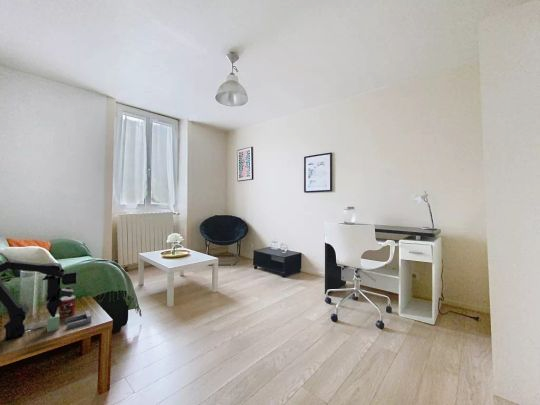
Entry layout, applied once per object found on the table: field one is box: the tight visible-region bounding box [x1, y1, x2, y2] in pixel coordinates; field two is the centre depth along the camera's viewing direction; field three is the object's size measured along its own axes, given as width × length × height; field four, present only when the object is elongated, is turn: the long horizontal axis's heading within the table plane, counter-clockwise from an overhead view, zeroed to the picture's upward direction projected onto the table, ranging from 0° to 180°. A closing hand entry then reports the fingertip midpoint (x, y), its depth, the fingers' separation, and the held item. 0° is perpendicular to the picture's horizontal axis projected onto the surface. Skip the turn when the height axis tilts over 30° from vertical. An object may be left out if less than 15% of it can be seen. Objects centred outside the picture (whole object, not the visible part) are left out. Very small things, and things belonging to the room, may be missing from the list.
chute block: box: [46, 312, 61, 332], centre depth 133 cm, size 5×5×7 cm
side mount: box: [65, 309, 92, 330], centre depth 140 cm, size 11×10×4 cm
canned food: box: [58, 294, 76, 319], centre depth 149 cm, size 8×8×11 cm
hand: (53, 314), depth 133 cm, fingers open, 9 cm apart
